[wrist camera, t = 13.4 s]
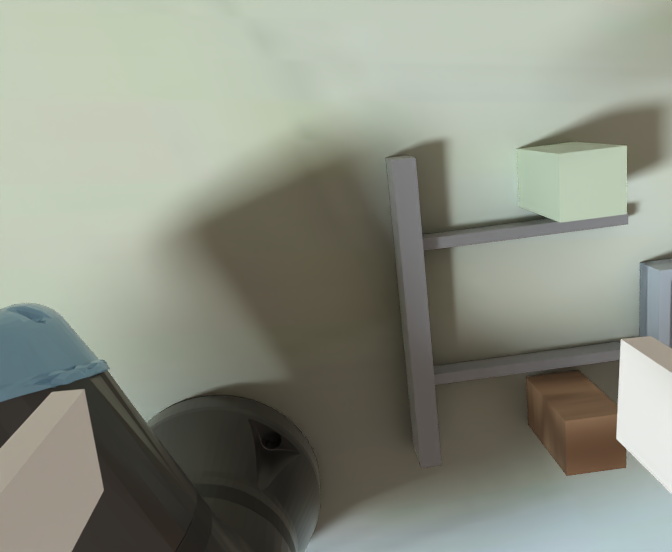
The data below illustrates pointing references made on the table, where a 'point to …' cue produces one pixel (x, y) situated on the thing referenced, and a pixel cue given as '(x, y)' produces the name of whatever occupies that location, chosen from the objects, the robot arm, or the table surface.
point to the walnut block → (574, 422)
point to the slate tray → (656, 300)
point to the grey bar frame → (417, 313)
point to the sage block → (573, 180)
